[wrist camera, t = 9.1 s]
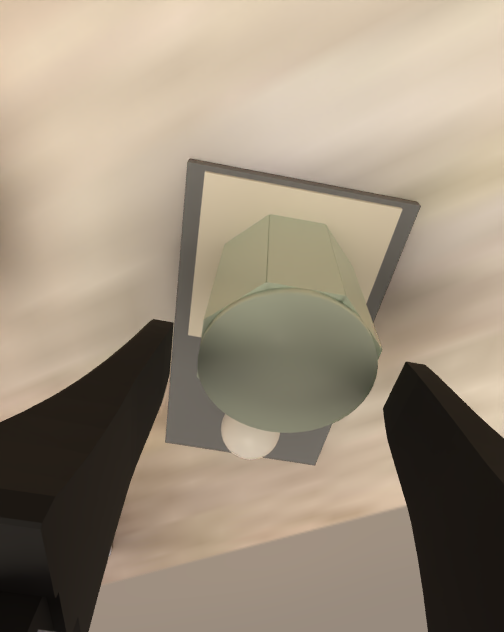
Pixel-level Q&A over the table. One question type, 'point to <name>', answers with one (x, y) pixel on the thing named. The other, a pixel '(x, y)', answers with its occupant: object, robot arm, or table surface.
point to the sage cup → (287, 329)
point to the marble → (247, 439)
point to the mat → (204, 256)
